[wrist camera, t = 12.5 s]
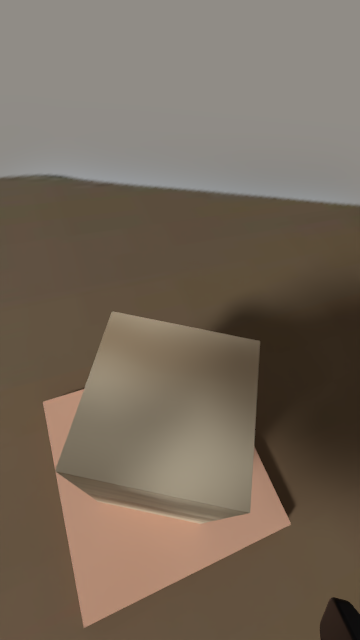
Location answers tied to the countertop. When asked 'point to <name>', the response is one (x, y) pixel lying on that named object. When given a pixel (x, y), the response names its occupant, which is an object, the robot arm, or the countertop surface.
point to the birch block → (167, 421)
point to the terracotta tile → (145, 533)
